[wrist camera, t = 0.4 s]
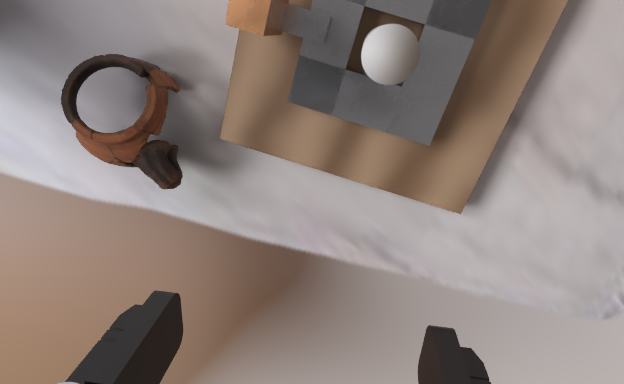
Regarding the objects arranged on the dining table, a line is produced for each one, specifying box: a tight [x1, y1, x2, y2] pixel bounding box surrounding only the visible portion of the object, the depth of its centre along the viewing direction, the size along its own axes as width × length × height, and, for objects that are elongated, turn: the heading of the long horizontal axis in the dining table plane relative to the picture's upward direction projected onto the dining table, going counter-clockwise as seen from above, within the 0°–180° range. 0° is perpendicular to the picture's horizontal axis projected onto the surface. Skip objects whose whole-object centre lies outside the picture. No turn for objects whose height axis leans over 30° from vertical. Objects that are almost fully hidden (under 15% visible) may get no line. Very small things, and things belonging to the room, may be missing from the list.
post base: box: [220, 0, 568, 214], centre depth 25 cm, size 22×22×12 cm
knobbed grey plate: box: [226, 0, 492, 146], centre depth 26 cm, size 16×12×7 cm
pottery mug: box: [61, 54, 183, 189], centre depth 34 cm, size 12×10×8 cm
